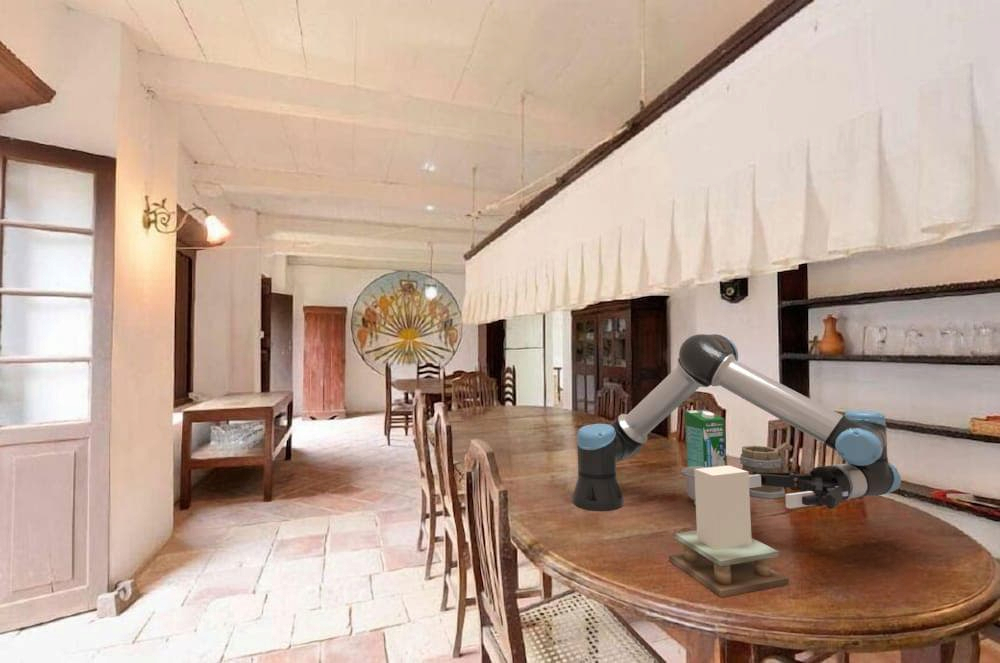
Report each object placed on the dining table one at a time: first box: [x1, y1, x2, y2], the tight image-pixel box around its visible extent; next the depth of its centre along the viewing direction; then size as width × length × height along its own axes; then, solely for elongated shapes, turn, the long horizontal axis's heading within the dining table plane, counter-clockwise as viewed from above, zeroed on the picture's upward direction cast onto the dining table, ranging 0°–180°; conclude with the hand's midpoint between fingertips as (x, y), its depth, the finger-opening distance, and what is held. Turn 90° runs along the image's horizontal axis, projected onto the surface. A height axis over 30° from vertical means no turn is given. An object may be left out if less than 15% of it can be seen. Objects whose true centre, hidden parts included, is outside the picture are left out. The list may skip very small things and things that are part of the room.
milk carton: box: [684, 409, 727, 467], centre depth 159 cm, size 9×9×25 cm
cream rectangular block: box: [694, 465, 752, 550], centre depth 97 cm, size 6×9×15 cm, turn 105°
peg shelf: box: [668, 529, 790, 598], centre depth 96 cm, size 16×16×6 cm
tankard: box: [739, 442, 793, 500], centre depth 149 cm, size 20×13×15 cm, turn 105°
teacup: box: [680, 466, 709, 506], centre depth 137 cm, size 12×15×10 cm
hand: (760, 491), depth 99 cm, fingers open, 13 cm apart
